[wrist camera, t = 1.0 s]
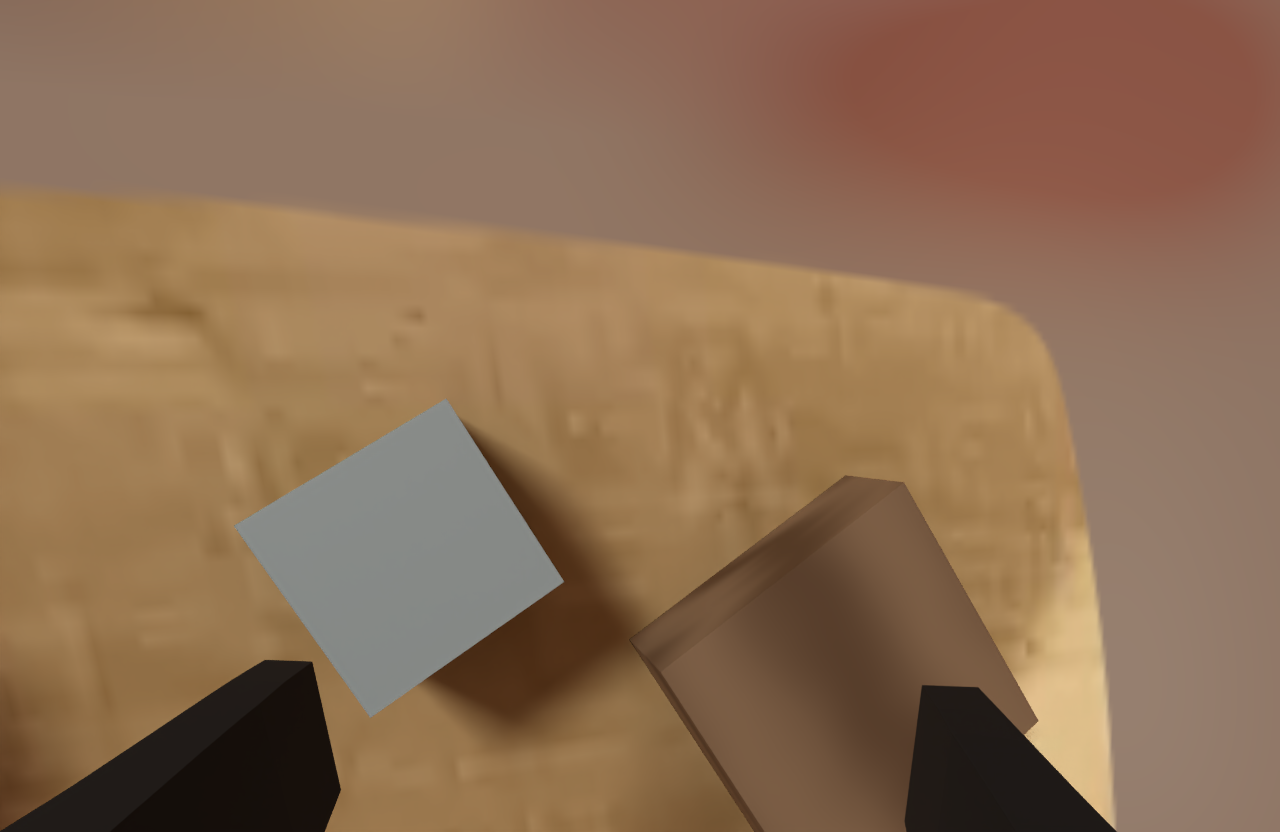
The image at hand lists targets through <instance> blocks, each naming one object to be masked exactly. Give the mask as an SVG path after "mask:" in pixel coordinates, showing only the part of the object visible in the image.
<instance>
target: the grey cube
mask: <svg viewBox="0 0 1280 832" xmlns="http://www.w3.org/2000/svg"><path fill="white" fill-rule="evenodd" d="M234 527H235V528H236V529H237V531H238V532H239V534H240V535H241V537H242V538H243V539H244V541H245V542H246V544H247V545H248V546H249V548H250V549H251V551H252V552H253V553H254V555H255V556H256V558H257V559H258V560H259V562H260V563H261V565H262V566H263V567H264V569H265V570H266V572H267V573H268V574H269V576H270V577H271V579H272V580H273V581H274V583H275V584H276V586H277V587H278V589H279V590H280V591H281V593H282V594H283V596H284V597H285V598H286V600H287V601H288V603H289V604H290V605H291V607H292V608H293V610H294V611H295V612H296V614H297V615H298V617H299V618H300V619H301V621H302V622H303V624H304V625H305V626H306V628H307V629H308V631H309V632H310V634H311V635H312V636H313V638H314V639H315V641H316V642H317V643H318V645H319V646H320V648H321V649H322V650H323V652H324V653H325V655H326V656H327V657H328V659H329V660H330V662H331V663H332V664H333V666H334V667H335V669H336V670H337V671H338V673H339V674H340V676H341V677H342V679H343V680H344V681H345V683H346V684H347V686H348V687H349V688H350V690H351V691H352V693H353V694H354V695H355V697H356V698H357V700H358V701H359V702H360V704H361V705H362V707H363V708H364V709H365V711H366V712H367V714H368V715H369V716H370V718H371V717H372V716H374V715H375V714H376V713H378V712H379V711H381V710H382V709H384V708H385V707H386V706H388V705H389V704H391V703H392V702H394V701H395V700H396V699H398V698H399V697H401V696H402V695H403V694H405V693H406V692H408V691H409V690H411V689H412V688H413V687H415V686H416V685H418V684H419V683H421V682H422V681H423V680H425V679H426V678H428V677H429V676H431V675H432V674H433V673H435V672H436V671H438V670H439V669H441V668H442V667H443V666H445V665H446V664H448V663H449V662H451V661H452V660H453V659H455V658H456V657H458V656H459V655H461V654H462V653H463V652H465V651H466V650H468V649H469V648H471V647H472V646H473V645H475V644H476V643H478V642H479V641H480V640H482V639H483V638H485V637H486V636H488V635H489V634H490V633H492V632H493V631H495V630H496V629H498V628H499V627H500V626H502V625H503V624H505V623H506V622H508V621H509V620H510V619H512V618H513V617H515V616H516V615H518V614H519V613H520V612H522V611H523V610H525V609H526V608H528V607H529V606H530V605H532V604H533V603H535V602H536V601H538V600H539V599H540V598H542V597H543V596H545V595H546V594H548V593H549V592H550V591H552V590H553V589H555V588H556V587H557V586H559V585H560V584H562V583H563V582H564V581H563V579H562V578H561V576H560V574H559V573H558V571H557V570H556V568H555V567H554V565H553V564H552V562H551V560H550V559H549V557H548V556H547V554H546V553H545V551H544V550H543V548H542V547H541V545H540V543H539V542H538V540H537V539H536V537H535V536H534V534H533V533H532V531H531V529H530V528H529V526H528V525H527V523H526V522H525V520H524V519H523V517H522V515H521V514H520V512H519V511H518V509H517V508H516V506H515V505H514V503H513V501H512V500H511V498H510V497H509V495H508V494H507V492H506V491H505V489H504V488H503V486H502V484H501V483H500V481H499V480H498V478H497V477H496V475H495V474H494V472H493V470H492V469H491V467H490V466H489V464H488V463H487V461H486V460H485V458H484V456H483V455H482V453H481V452H480V450H479V449H478V447H477V446H476V444H475V442H474V441H473V439H472V438H471V436H470V435H469V433H468V432H467V430H466V429H465V427H464V425H463V424H462V422H461V421H460V419H459V418H458V416H457V415H456V413H455V411H454V410H453V408H452V407H451V405H450V404H449V402H448V401H447V399H445V400H443V401H441V402H440V403H438V404H436V405H435V406H433V407H431V408H430V409H428V410H426V411H425V412H423V413H421V414H420V415H418V416H416V417H415V418H413V419H411V420H410V421H408V422H406V423H405V424H403V425H401V426H400V427H398V428H396V429H395V430H393V431H391V432H390V433H388V434H386V435H385V436H383V437H381V438H380V439H378V440H376V441H375V442H373V443H371V444H370V445H368V446H366V447H365V448H363V449H361V450H360V451H358V452H356V453H355V454H353V455H351V456H350V457H348V458H346V459H345V460H343V461H341V462H340V463H338V464H336V465H335V466H333V467H331V468H330V469H328V470H326V471H325V472H323V473H321V474H320V475H318V476H316V477H315V478H313V479H311V480H310V481H308V482H306V483H305V484H303V485H301V486H300V487H298V488H296V489H295V490H293V491H291V492H290V493H288V494H286V495H285V496H283V497H281V498H280V499H278V500H276V501H275V502H273V503H271V504H270V505H268V506H266V507H265V508H263V509H261V510H260V511H258V512H256V513H255V514H253V515H251V516H250V517H248V518H246V519H245V520H243V521H241V522H240V523H238V524H236V525H235V526H234Z"/></svg>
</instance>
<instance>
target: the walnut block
mask: <svg viewBox="0 0 1280 832" xmlns="http://www.w3.org/2000/svg"><path fill="white" fill-rule="evenodd" d="M629 640H630V642H631V643H632V645H633V646H634V648H635V649H636V651H637V652H638V654H639V655H640V657H641V658H642V660H643V661H644V663H645V665H646V666H647V668H648V669H649V671H650V672H651V674H652V675H653V677H654V678H655V680H656V681H657V683H658V684H659V686H660V688H661V689H662V691H663V692H664V694H665V695H666V697H667V698H668V700H669V701H670V703H671V704H672V706H673V707H674V709H675V711H676V712H677V714H678V715H679V717H680V718H681V720H682V721H683V723H684V724H685V726H686V727H687V729H688V730H689V732H690V734H691V735H692V737H693V738H694V740H695V741H696V743H697V744H698V746H699V747H700V749H701V750H702V752H703V753H704V755H705V757H706V758H707V760H708V761H709V763H710V764H711V766H712V767H713V769H714V770H715V772H716V773H717V775H718V776H719V778H720V780H721V781H722V783H723V784H724V786H725V787H726V789H727V790H728V792H729V793H730V795H731V796H732V798H733V799H734V801H735V803H736V804H737V806H738V807H739V809H740V810H741V812H742V813H743V815H744V816H745V818H746V819H747V821H748V822H749V824H750V826H751V827H752V829H753V830H754V832H906V827H905V822H904V820H905V812H906V805H907V797H908V789H909V781H910V774H911V766H912V758H913V750H914V742H915V735H916V727H917V719H918V711H919V704H920V696H921V688H922V685H935V686H961V687H979V688H980V690H981V691H982V692H983V693H984V694H985V695H986V696H987V697H988V698H989V699H990V700H991V701H992V702H993V703H994V704H995V705H996V706H997V707H998V708H999V709H1000V710H1001V711H1002V713H1003V714H1004V715H1005V716H1006V717H1007V718H1008V719H1009V720H1010V721H1011V722H1012V723H1013V724H1014V725H1015V726H1016V727H1017V728H1018V730H1019V731H1020V732H1021V733H1022V734H1023V735H1024V734H1025V733H1026V732H1027V731H1028V730H1029V729H1030V728H1031V727H1033V726H1034V725H1035V724H1036V723H1037V722H1038V719H1037V717H1036V716H1035V714H1034V712H1033V710H1032V709H1031V707H1030V705H1029V703H1028V701H1027V700H1026V698H1025V696H1024V694H1023V693H1022V691H1021V689H1020V687H1019V686H1018V684H1017V682H1016V680H1015V678H1014V677H1013V675H1012V673H1011V671H1010V670H1009V668H1008V666H1007V664H1006V663H1005V661H1004V659H1003V657H1002V655H1001V654H1000V652H999V650H998V648H997V647H996V645H995V643H994V641H993V639H992V638H991V636H990V634H989V632H988V631H987V629H986V627H985V625H984V624H983V622H982V620H981V618H980V616H979V615H978V613H977V611H976V609H975V608H974V606H973V604H972V602H971V601H970V599H969V597H968V595H967V593H966V592H965V590H964V588H963V586H962V585H961V583H960V581H959V579H958V578H957V576H956V574H955V572H954V570H953V569H952V567H951V565H950V563H949V562H948V560H947V558H946V556H945V554H944V553H943V551H942V549H941V547H940V546H939V544H938V542H937V540H936V539H935V537H934V535H933V533H932V531H931V530H930V528H929V526H928V524H927V523H926V521H925V519H924V517H923V516H922V514H921V512H920V510H919V508H918V507H917V505H916V503H915V501H914V500H913V498H912V496H911V494H910V492H909V491H908V489H907V487H906V485H905V484H904V483H903V482H895V481H887V480H878V479H870V478H862V477H853V476H844V477H843V478H842V479H840V480H839V481H838V482H836V483H835V484H834V485H832V486H831V487H830V488H828V489H827V490H826V491H824V492H823V493H822V494H821V495H819V496H818V497H817V498H815V499H814V500H813V501H811V502H810V503H809V504H807V505H806V506H805V507H803V508H802V509H801V510H799V511H798V512H797V513H795V514H794V515H793V516H791V517H790V518H789V519H788V520H786V521H785V522H784V523H782V524H781V525H780V526H778V527H777V528H776V529H774V530H773V531H772V532H770V533H769V534H768V535H766V536H765V537H764V538H762V539H761V540H760V541H758V542H757V543H756V544H755V545H753V546H752V547H751V548H749V549H748V550H747V551H745V552H744V553H743V554H741V555H740V556H739V557H737V558H736V559H735V560H733V561H732V562H731V563H729V564H728V565H727V566H725V567H724V568H723V569H722V570H720V571H719V572H718V573H716V574H715V575H714V576H712V577H711V578H710V579H708V580H707V581H706V582H704V583H703V584H702V585H700V586H699V587H698V588H696V589H695V590H694V591H692V592H691V593H690V594H689V595H687V596H686V597H685V598H683V599H682V600H681V601H679V602H678V603H677V604H675V605H674V606H673V607H671V608H670V609H669V610H667V611H666V612H665V613H663V614H662V615H661V616H660V617H658V618H657V619H656V620H654V621H653V622H652V623H650V624H649V625H648V626H646V627H645V628H644V629H642V630H641V631H640V632H638V633H637V634H636V635H634V636H633V637H632V638H630V639H629Z"/></svg>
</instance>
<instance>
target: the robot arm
mask: <svg viewBox="0 0 1280 832" xmlns="http://www.w3.org/2000/svg"><path fill="white" fill-rule="evenodd" d="M340 791H341V788H340V784H339V779H338V775H337V770H336V766H335V761H334V757H333V752H332V748H331V743H330V739H329V735H328V730H327V726H326V721H325V717H324V712H323V708H322V703H321V699H320V694H319V690H318V685H317V681H316V676H315V672H314V667H313V663H312V662H306V661H279V660H264V661H263V662H261V663H259V664H257V665H256V666H254V667H252V668H251V669H249V670H247V671H246V672H244V673H242V674H241V675H239V676H238V677H236V678H234V679H233V680H231V681H230V682H228V683H227V684H225V685H224V686H222V687H220V688H219V689H217V690H216V691H214V692H213V693H211V694H210V695H208V696H207V697H205V698H204V699H202V700H201V701H199V702H198V703H196V704H195V705H193V706H192V707H190V708H189V709H187V710H186V711H184V712H183V713H181V714H180V715H178V716H177V717H175V718H174V719H172V720H171V721H169V722H168V723H166V724H165V725H163V726H162V727H160V728H159V729H157V730H156V731H154V732H153V733H151V734H150V735H148V736H147V737H145V738H144V739H142V740H141V741H139V742H138V743H136V744H135V745H133V746H132V747H130V748H129V749H127V750H126V751H124V752H123V753H121V754H120V755H118V756H117V757H115V758H114V759H112V760H111V761H109V762H108V763H106V764H105V765H103V766H102V767H100V768H99V769H97V770H96V771H94V772H93V773H91V774H90V775H88V776H87V777H85V778H84V779H82V780H81V781H79V782H78V783H76V784H75V785H73V786H71V787H70V788H68V789H67V790H65V791H64V792H62V793H61V794H59V795H57V796H56V797H54V798H53V799H51V800H49V801H48V802H46V803H45V804H43V805H41V806H40V807H38V808H37V809H35V810H33V811H32V812H30V813H29V814H27V815H25V816H24V817H22V818H21V819H19V820H17V821H16V822H14V823H13V824H11V825H9V826H8V827H6V828H5V829H3V830H1V831H0V832H325V829H326V827H327V824H328V822H329V819H330V817H331V814H332V811H333V809H334V806H335V804H336V801H337V799H338V796H339V794H340ZM904 822H905V827H906V832H1117V831H1116V830H1115V829H1114V828H1113V827H1112V826H1111V825H1110V824H1109V823H1108V822H1107V821H1106V820H1105V819H1104V818H1103V817H1102V816H1101V815H1100V814H1099V813H1098V812H1097V811H1096V810H1095V809H1094V808H1093V807H1092V806H1091V805H1090V804H1089V803H1088V802H1087V801H1086V800H1085V799H1084V798H1083V797H1082V796H1081V795H1080V794H1079V793H1078V792H1077V791H1076V790H1075V789H1074V788H1073V787H1072V786H1071V784H1070V783H1069V782H1068V781H1067V780H1066V779H1065V778H1064V777H1063V776H1062V775H1061V774H1060V773H1059V772H1058V771H1057V770H1056V769H1055V768H1054V767H1053V766H1052V765H1051V763H1050V762H1049V761H1048V760H1047V759H1046V758H1045V757H1044V756H1043V755H1042V754H1041V753H1040V752H1039V751H1038V750H1037V749H1036V748H1035V747H1034V745H1033V744H1032V743H1031V742H1030V741H1029V740H1028V739H1027V738H1026V737H1025V736H1024V735H1023V734H1022V733H1021V732H1020V731H1019V730H1018V728H1017V727H1016V726H1015V725H1014V724H1013V723H1012V722H1011V721H1010V720H1009V719H1008V718H1007V717H1006V716H1005V715H1004V714H1003V713H1002V711H1001V710H1000V709H999V708H998V707H997V706H996V705H995V704H994V703H993V702H992V701H991V700H990V699H989V698H988V697H987V696H986V695H985V694H984V693H983V692H982V691H981V690H980V688H979V687H961V686H935V685H922V688H921V696H920V704H919V711H918V719H917V727H916V735H915V742H914V750H913V758H912V766H911V774H910V781H909V789H908V797H907V805H906V812H905V820H904Z"/></svg>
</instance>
